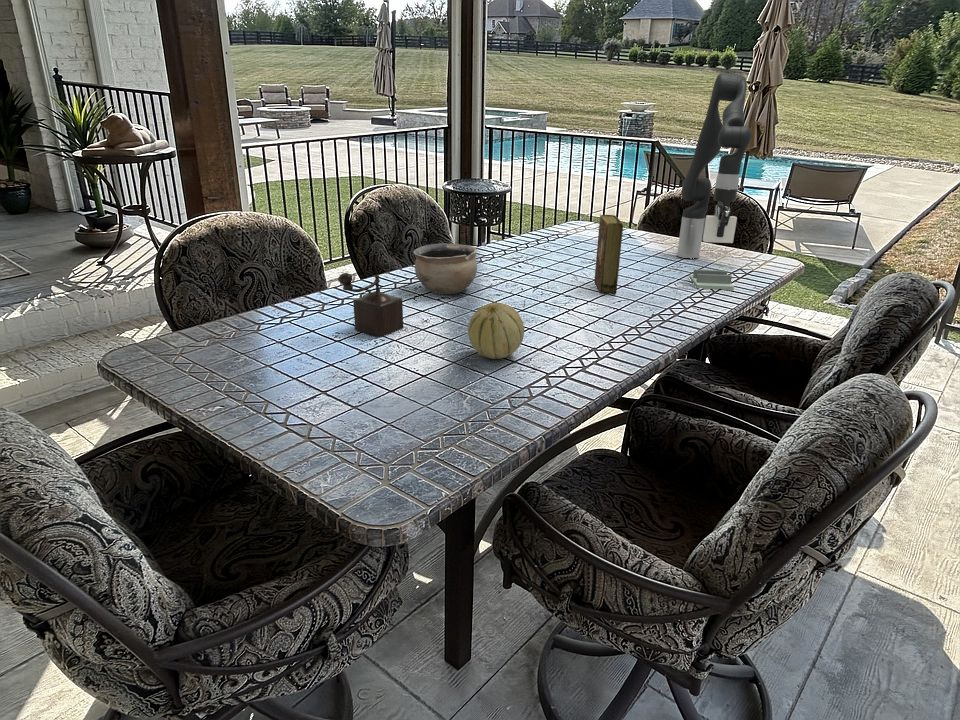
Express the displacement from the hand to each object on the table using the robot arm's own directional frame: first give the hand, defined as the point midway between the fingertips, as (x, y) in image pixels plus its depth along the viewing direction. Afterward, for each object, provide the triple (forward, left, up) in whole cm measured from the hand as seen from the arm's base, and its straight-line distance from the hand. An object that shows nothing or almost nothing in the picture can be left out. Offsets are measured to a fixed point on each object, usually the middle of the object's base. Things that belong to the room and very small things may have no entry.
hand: (718, 235), depth 230 cm
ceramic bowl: (+24, -96, -18) cm, 101 cm away
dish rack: (0, 0, -18) cm, 18 cm away
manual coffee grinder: (+67, -111, -18) cm, 131 cm away
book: (+12, -40, -18) cm, 46 cm away
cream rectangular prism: (0, 0, -2) cm, 2 cm away
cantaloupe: (+81, -74, -18) cm, 111 cm away
